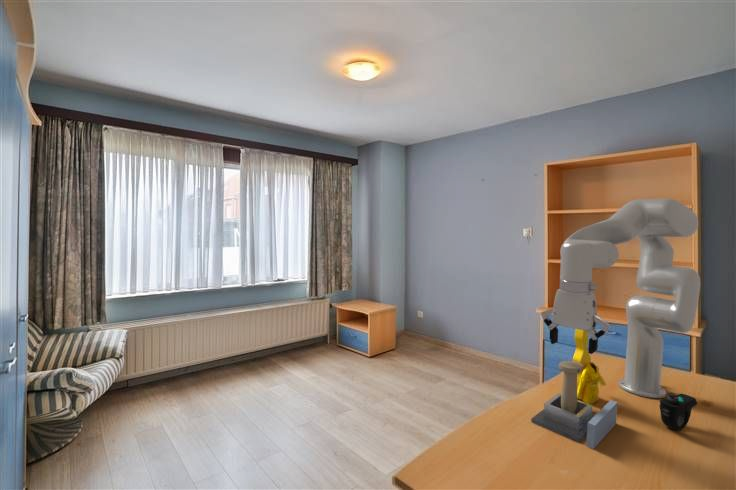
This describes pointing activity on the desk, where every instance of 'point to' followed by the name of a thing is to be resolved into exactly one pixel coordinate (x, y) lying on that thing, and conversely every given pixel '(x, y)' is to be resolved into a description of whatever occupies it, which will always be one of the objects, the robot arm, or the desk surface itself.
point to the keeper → (565, 418)
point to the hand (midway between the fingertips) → (572, 347)
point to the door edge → (601, 424)
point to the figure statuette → (586, 370)
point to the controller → (676, 410)
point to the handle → (569, 384)
